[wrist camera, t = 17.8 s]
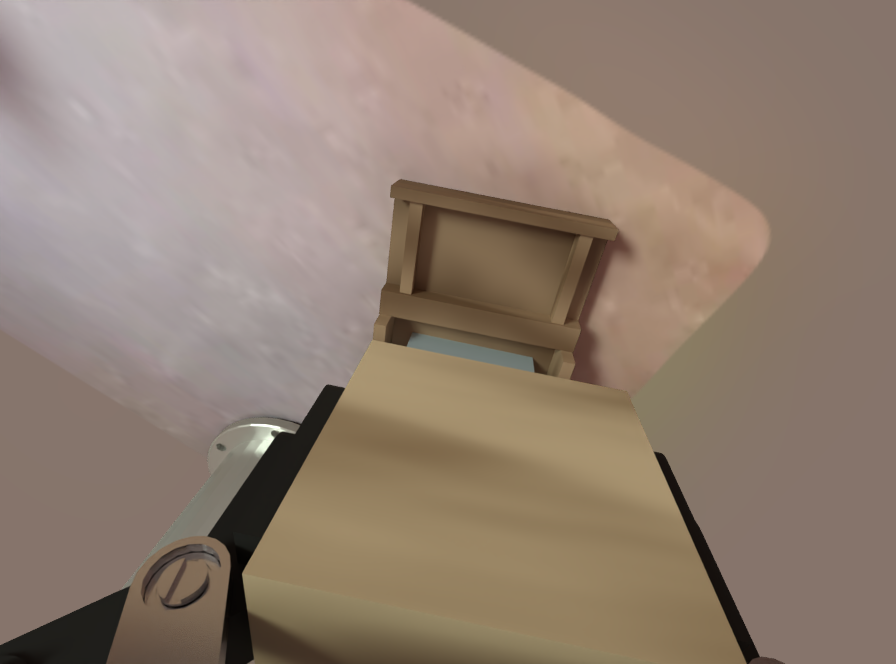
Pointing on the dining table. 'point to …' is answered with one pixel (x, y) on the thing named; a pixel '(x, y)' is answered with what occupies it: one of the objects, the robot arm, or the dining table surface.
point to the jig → (489, 273)
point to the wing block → (480, 529)
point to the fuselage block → (470, 352)
